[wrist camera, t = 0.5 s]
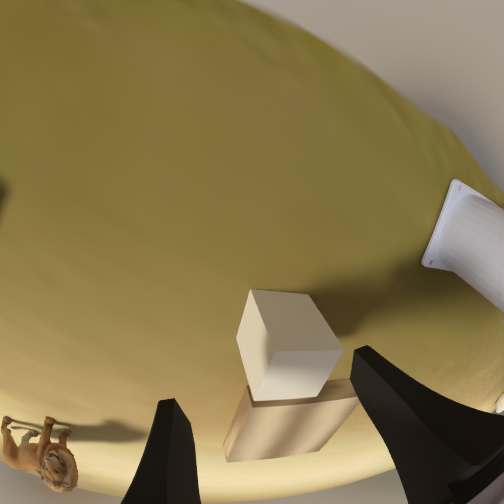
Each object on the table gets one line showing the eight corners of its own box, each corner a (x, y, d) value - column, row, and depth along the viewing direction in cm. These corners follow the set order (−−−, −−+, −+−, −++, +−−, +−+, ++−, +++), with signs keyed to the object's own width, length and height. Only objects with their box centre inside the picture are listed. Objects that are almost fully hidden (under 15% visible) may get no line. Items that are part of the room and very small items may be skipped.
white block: (307, 293, 21) (344, 349, 16) (289, 339, 23) (316, 396, 18) (250, 288, 20) (275, 351, 15) (236, 337, 22) (253, 400, 16)
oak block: (352, 375, 28) (364, 395, 26) (311, 433, 33) (319, 450, 30) (245, 381, 25) (252, 407, 22) (222, 441, 29) (226, 462, 27)
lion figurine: (62, 405, 22) (50, 481, 14) (95, 431, 24) (90, 501, 16) (-5, 415, 21) (-19, 471, 13) (23, 438, 24) (13, 491, 16)
